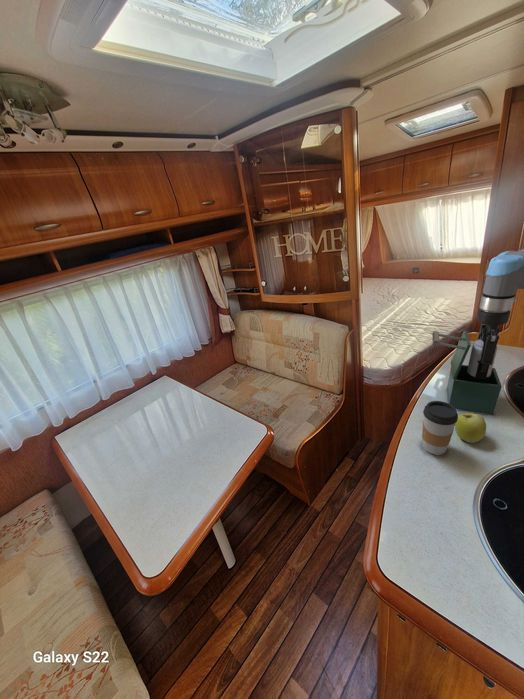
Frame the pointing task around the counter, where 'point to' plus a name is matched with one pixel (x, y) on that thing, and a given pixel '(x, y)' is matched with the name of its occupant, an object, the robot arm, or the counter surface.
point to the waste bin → (473, 392)
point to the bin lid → (460, 350)
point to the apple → (470, 427)
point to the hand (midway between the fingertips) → (478, 373)
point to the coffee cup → (438, 426)
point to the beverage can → (477, 358)
